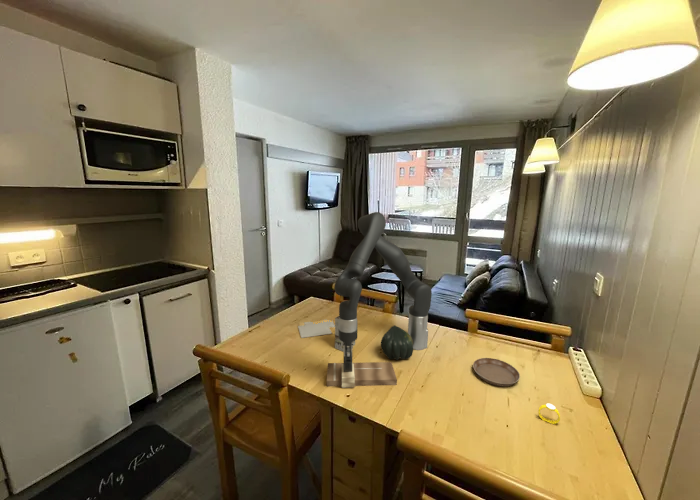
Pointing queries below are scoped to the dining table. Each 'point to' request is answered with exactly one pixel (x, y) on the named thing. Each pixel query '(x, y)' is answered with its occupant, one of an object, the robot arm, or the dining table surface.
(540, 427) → the dining table surface
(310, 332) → the paper stack
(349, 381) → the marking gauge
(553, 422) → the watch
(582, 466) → the dining table surface
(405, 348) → the squash
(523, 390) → the dining table surface
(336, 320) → the coffee box
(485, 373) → the plant saucer
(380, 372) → the walnut board
